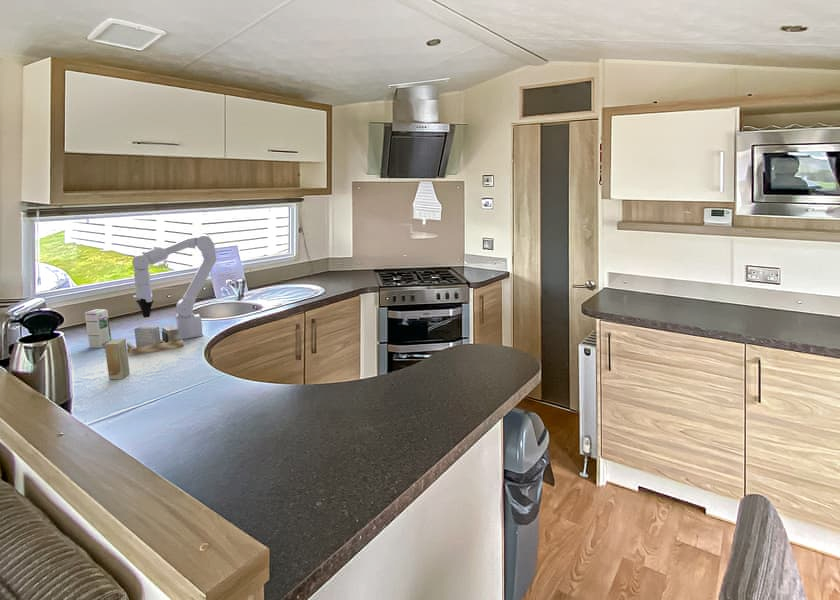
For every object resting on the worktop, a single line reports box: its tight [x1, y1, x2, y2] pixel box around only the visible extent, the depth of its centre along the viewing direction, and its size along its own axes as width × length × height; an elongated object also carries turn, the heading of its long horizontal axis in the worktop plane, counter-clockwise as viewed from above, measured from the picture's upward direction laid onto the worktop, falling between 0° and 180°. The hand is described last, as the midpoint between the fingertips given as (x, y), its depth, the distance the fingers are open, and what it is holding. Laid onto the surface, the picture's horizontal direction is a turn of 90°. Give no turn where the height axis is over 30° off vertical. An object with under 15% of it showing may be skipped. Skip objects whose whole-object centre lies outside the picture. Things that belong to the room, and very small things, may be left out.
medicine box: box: [134, 325, 162, 348], centre depth 218 cm, size 8×4×9 cm, turn 80°
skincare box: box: [104, 338, 131, 380], centre depth 184 cm, size 6×4×12 cm
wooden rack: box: [126, 325, 185, 356], centre depth 219 cm, size 19×10×7 cm, turn 129°
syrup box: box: [84, 308, 112, 349], centre depth 223 cm, size 6×6×14 cm
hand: (146, 317), depth 230 cm, fingers closed
